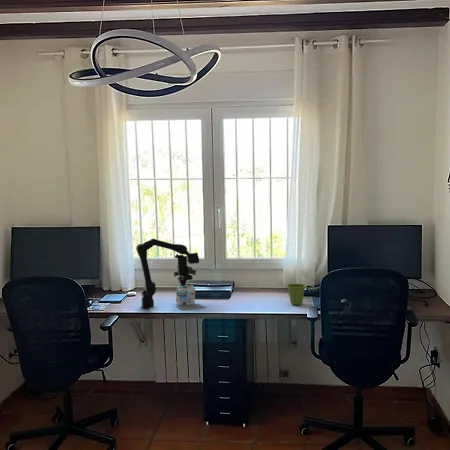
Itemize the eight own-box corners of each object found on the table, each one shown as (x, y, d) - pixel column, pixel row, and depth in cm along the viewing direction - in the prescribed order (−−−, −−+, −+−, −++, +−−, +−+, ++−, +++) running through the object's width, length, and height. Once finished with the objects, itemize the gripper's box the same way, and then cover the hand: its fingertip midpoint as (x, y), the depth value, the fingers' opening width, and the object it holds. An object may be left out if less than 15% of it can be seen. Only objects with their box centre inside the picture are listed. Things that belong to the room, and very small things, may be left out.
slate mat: (182, 310, 309) (182, 310, 309) (176, 306, 319) (176, 306, 319) (205, 307, 315) (205, 307, 315) (199, 304, 325) (199, 303, 325)
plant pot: (290, 306, 313) (290, 287, 313) (284, 302, 325) (284, 284, 324) (309, 304, 316) (308, 286, 315) (302, 300, 327) (302, 283, 326)
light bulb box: (178, 306, 321) (179, 289, 318) (175, 302, 327) (176, 285, 324) (195, 304, 325) (195, 288, 322) (191, 300, 331) (192, 284, 328)
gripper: (199, 265, 321) (200, 290, 323) (189, 261, 338) (190, 284, 339) (182, 267, 317) (184, 292, 318) (173, 263, 333) (174, 287, 335)
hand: (183, 289), depth 328 cm, fingers closed
